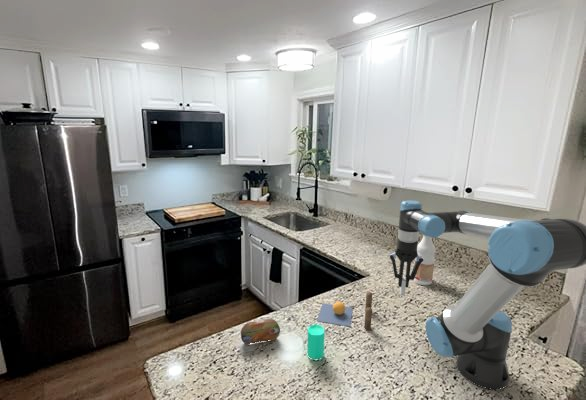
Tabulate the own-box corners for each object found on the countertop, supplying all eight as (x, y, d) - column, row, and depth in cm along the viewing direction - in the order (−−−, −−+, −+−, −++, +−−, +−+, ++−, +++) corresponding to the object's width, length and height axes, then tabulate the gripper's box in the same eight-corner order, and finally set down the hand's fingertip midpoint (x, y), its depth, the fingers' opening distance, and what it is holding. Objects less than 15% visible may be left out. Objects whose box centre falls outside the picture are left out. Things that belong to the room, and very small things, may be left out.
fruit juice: (426, 287, 159) (432, 237, 153) (409, 280, 166) (414, 232, 160) (435, 282, 165) (441, 233, 158) (418, 275, 172) (423, 228, 165)
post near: (370, 330, 124) (372, 311, 122) (364, 329, 125) (365, 310, 123) (370, 327, 127) (372, 307, 125) (364, 326, 127) (365, 306, 125)
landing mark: (350, 326, 127) (350, 326, 127) (317, 321, 130) (317, 320, 130) (352, 308, 140) (352, 307, 140) (322, 303, 143) (322, 303, 143)
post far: (371, 313, 136) (372, 295, 134) (365, 312, 137) (366, 294, 135) (371, 310, 138) (372, 292, 136) (365, 309, 139) (366, 291, 137)
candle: (313, 346, 115) (314, 318, 112) (326, 354, 111) (327, 325, 108) (303, 355, 110) (304, 326, 107) (317, 363, 106) (318, 333, 104)
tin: (241, 347, 114) (240, 327, 113) (240, 341, 117) (239, 322, 116) (280, 340, 118) (280, 321, 116) (278, 335, 121) (278, 316, 119)
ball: (329, 310, 134) (337, 319, 133) (338, 304, 131) (347, 313, 131) (331, 303, 139) (339, 312, 138) (340, 297, 136) (348, 306, 136)
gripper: (423, 237, 122) (418, 291, 127) (390, 234, 125) (385, 287, 130) (427, 244, 115) (420, 300, 120) (390, 241, 118) (386, 296, 123)
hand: (402, 293), depth 125 cm, fingers closed
